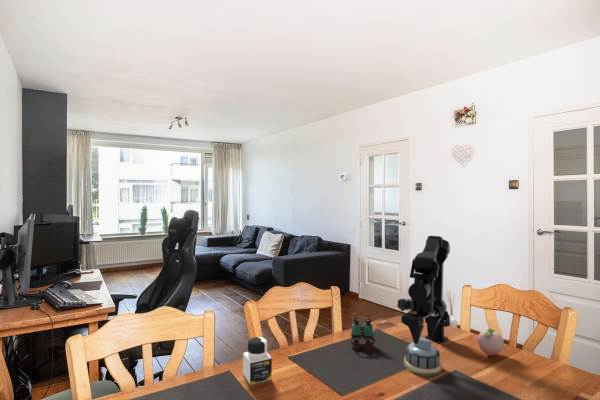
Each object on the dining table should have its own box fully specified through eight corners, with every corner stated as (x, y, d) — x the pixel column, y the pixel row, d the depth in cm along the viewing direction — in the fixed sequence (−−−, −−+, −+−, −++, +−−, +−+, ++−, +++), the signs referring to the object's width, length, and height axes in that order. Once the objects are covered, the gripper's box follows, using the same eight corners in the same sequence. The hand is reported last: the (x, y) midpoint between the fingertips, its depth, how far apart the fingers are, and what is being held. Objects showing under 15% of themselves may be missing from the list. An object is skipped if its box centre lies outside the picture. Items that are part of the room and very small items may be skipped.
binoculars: (351, 327, 127) (350, 315, 137) (351, 355, 128) (350, 340, 138) (376, 329, 126) (373, 316, 136) (376, 356, 127) (373, 341, 137)
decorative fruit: (503, 363, 122) (504, 335, 121) (477, 358, 126) (477, 330, 125) (503, 353, 130) (504, 326, 130) (478, 347, 134) (479, 322, 134)
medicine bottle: (250, 385, 106) (250, 346, 106) (242, 374, 112) (243, 337, 112) (271, 379, 109) (272, 341, 109) (263, 369, 116) (263, 333, 115)
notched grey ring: (415, 355, 127) (415, 340, 127) (447, 368, 118) (448, 352, 118) (396, 366, 119) (397, 350, 119) (430, 380, 110) (430, 363, 110)
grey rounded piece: (403, 358, 119) (403, 338, 119) (416, 350, 125) (417, 331, 125) (428, 369, 112) (428, 347, 112) (441, 360, 118) (441, 339, 118)
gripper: (416, 284, 130) (415, 325, 130) (387, 293, 117) (386, 339, 118) (445, 291, 122) (444, 335, 122) (418, 301, 109) (416, 351, 110)
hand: (422, 339), depth 118 cm, fingers open, 9 cm apart
